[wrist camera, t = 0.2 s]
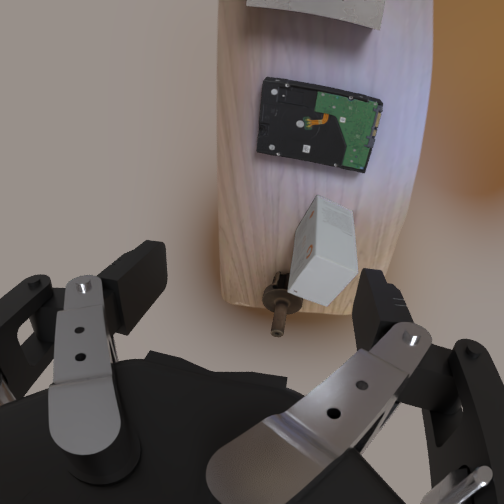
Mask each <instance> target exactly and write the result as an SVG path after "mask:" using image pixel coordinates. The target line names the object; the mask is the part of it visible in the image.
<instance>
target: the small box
mask: <svg viewBox="0 0 504 504" xmlns="http://www.w3.org/2000/svg"><path fill="white" fill-rule="evenodd" d="M357 274H358V262H357V250H356V238H355V228H354V219H353V211H352V210H349V209H347V208H345V207H343V206H341V205H339V204H336V203H334V202H332V201H330V200H328V199H326V198H323V197H321V196H319V195H317V196H316V198H315V199H314V201H313V203H312V204H311V206H310V208H309V209H308V211H307V213H306V214H305V216H304V218H303V219H302V221H301V223H300V224H299V226H298V228H297V229H296V233H295V241H294V249H293V256H292V263H291V270H290V277H289V284H288V291H287V292H288V293H291V294H293V295H296V296H298V297H301V298H304V299H307V300H309V301H312V302H315V303H318V304H321V305H324V306H328V305H329V304H330V303H331V302H332V301H333V300H334V299H335V298H336V297H337V296H338V295H339V294H340V293H341V292H342V291H343V289H344V288H345V287H346V286H347V285H348V284H349V283H350V282H351V281H352V280H353V278H354V277H355V276H356V275H357Z"/></svg>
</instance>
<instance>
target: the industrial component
mask: <svg viewBox="0 0 504 504" xmlns="http://www.w3.org/2000/svg"><path fill="white" fill-rule="evenodd" d="M289 277H290V274H286V275H281V273H280V272H278V273H276V276H275V277H274V279H273V284H272V285H270V286H268V287H267V288H266V289H265V291H264V294H263V299H262V301H263V304H264V306H265V307H266V308H267V309H268V310H270V311H272V312H274V318H273V323H272V328H271V334H272V335H273V336H274V337H281V336H283V334H284V327H285V321H286V314H293V313H295V312H297V311H299V310H300V309H301V307H302V303H303V298H301V297H298V296H296V295H293V294H291V293H288V292H287V291H288V284H289Z"/></svg>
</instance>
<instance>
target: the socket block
mask: <svg viewBox="0 0 504 504" xmlns="http://www.w3.org/2000/svg"><path fill="white" fill-rule="evenodd" d="M384 5H385V0H247V2H246V6H251V7H260V8H270V9H279V10H286V11H293V12H300V13H306V14H312V15H317V16H322V17H327V18H332V19H336V20H341V21H345V22H349V23H353V24H357V25H361V26H364V27H368V28H371V29H376V30H380V26H381V21H382V16H383V11H384Z"/></svg>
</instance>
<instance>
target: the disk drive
mask: <svg viewBox="0 0 504 504" xmlns="http://www.w3.org/2000/svg"><path fill="white" fill-rule="evenodd" d="M382 107H383V103H382V101H381V100H380V99H376V98H372V97H369V96H366V95H362V94H359V93H353V92H349V91H344V90H340V89H335V88H331V87H326V86H321V85H316V84H309V83H304V82H298V81H292V80H288V79H281V78H272V77H271V78H270V77H266V78H265V79H264V81H263V85H262V99H261V108H260V118H259V134H258V140H257V150H256V151H257V152H259V153H265V154H269V155H275V156H277V155H278V156H282V157H288V158H294V159H299V160H304V161H310V162H314V163H320V164H324V165H329V166H334V167H339V168H342V169H346V170H353V171H357V172H361V173H365V171H366V168H367V164H368V161H369V158H370V155H371V151H372V148H373V145H374V142H375V136H376V132H377V128H378V125H379V121H380V117H381V112H382V111H383V110H382Z"/></svg>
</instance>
